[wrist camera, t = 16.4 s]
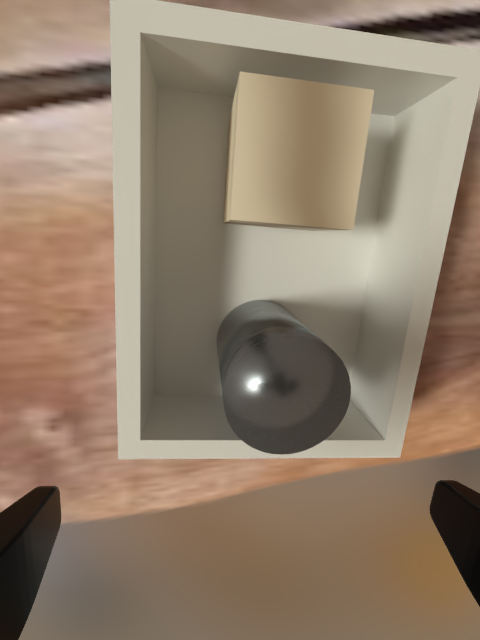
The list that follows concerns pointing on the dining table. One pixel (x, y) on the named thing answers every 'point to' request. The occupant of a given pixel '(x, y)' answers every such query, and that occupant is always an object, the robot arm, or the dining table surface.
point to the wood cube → (295, 153)
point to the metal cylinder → (279, 379)
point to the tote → (268, 242)
